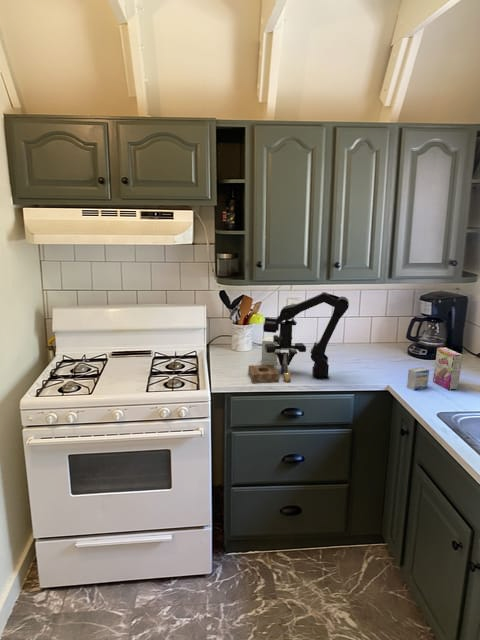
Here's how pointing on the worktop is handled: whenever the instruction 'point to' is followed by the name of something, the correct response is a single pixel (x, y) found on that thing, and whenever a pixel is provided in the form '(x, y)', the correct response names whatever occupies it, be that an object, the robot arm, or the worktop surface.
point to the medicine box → (418, 378)
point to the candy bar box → (447, 368)
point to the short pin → (287, 377)
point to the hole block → (263, 373)
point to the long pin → (284, 362)
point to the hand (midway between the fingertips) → (284, 365)
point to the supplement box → (268, 357)
